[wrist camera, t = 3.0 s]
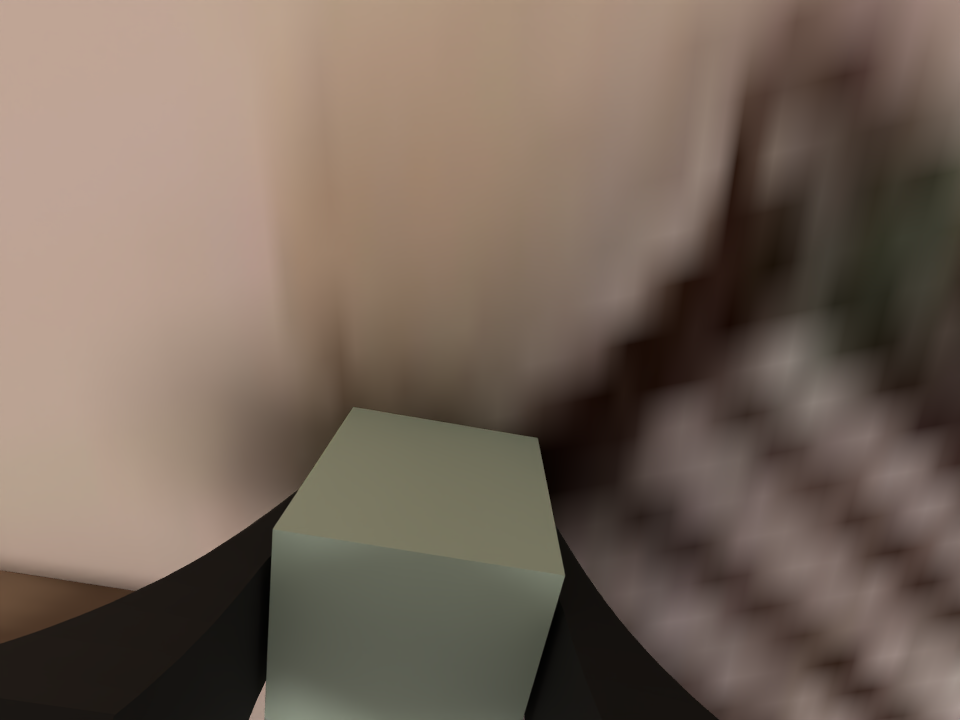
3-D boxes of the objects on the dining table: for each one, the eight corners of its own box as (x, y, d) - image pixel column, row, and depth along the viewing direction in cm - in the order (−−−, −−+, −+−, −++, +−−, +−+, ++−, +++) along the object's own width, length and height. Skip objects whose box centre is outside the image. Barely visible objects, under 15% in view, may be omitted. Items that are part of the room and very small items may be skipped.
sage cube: (537, 436, 13) (564, 575, 8) (502, 581, 14) (508, 767, 10) (353, 406, 13) (272, 529, 8) (338, 555, 14) (263, 733, 10)
